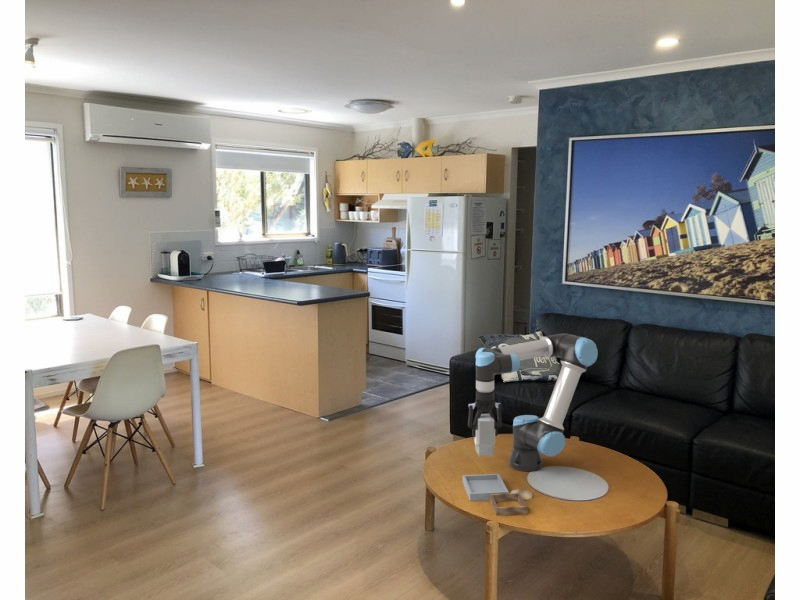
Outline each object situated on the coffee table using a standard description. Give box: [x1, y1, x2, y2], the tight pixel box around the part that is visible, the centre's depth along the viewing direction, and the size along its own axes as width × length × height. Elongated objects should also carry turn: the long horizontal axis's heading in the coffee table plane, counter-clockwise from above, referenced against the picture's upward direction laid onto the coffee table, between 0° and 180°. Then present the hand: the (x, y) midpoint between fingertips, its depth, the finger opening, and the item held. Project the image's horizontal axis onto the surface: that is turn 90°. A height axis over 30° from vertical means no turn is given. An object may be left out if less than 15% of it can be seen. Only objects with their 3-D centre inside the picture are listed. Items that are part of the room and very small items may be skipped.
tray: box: [461, 473, 510, 502], centre depth 256 cm, size 16×18×3 cm
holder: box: [489, 492, 528, 516], centre depth 241 cm, size 12×12×3 cm
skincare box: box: [474, 413, 495, 457], centre depth 253 cm, size 8×7×16 cm
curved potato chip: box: [509, 488, 534, 501], centre depth 251 cm, size 9×9×1 cm
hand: (484, 443), depth 254 cm, fingers closed on skincare box, 7 cm apart
